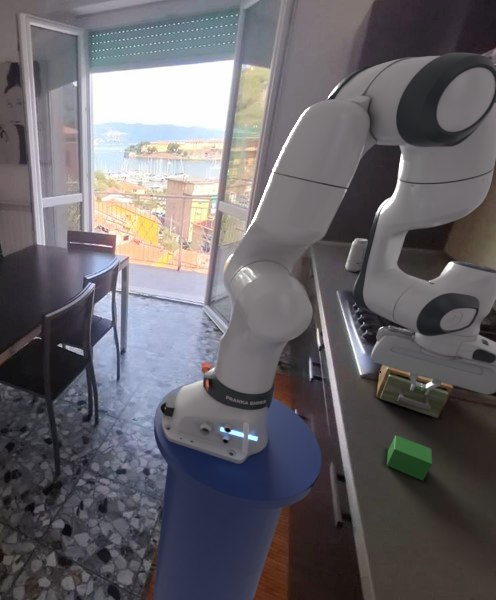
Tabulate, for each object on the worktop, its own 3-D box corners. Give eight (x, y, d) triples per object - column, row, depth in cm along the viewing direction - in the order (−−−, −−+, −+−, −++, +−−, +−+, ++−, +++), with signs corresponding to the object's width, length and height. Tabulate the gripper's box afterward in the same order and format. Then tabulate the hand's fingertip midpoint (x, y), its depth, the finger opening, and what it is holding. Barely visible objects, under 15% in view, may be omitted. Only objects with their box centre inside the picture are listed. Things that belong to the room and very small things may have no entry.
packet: (423, 480, 67) (432, 463, 65) (386, 465, 70) (394, 449, 68) (422, 465, 70) (431, 448, 68) (387, 451, 73) (395, 434, 71)
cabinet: (438, 417, 82) (453, 387, 78) (376, 397, 88) (387, 368, 85) (435, 388, 91) (449, 360, 88) (379, 371, 98) (390, 344, 94)
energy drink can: (357, 273, 167) (367, 242, 161) (342, 269, 171) (351, 239, 165) (361, 270, 171) (370, 239, 165) (346, 267, 175) (355, 237, 169)
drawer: (437, 430, 77) (450, 406, 74) (378, 409, 83) (388, 386, 80) (434, 389, 89) (445, 367, 86) (382, 374, 95) (391, 352, 92)
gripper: (379, 328, 77) (360, 380, 83) (517, 362, 65) (483, 419, 71) (381, 318, 81) (363, 367, 87) (510, 347, 70) (479, 402, 75)
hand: (418, 391), depth 79 cm, fingers closed
